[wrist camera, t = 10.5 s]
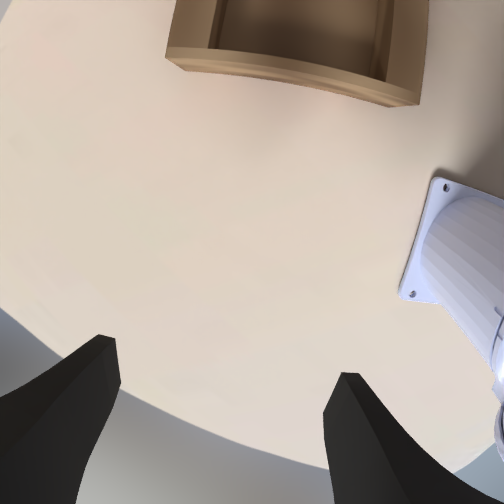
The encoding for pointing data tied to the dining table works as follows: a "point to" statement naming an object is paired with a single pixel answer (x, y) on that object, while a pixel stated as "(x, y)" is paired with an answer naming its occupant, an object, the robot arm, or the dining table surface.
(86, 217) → the dining table surface
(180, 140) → the dining table surface
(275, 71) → the keyhole board
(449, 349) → the dining table surface
